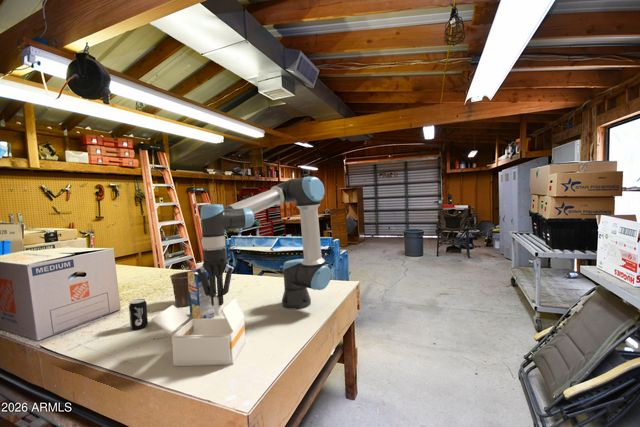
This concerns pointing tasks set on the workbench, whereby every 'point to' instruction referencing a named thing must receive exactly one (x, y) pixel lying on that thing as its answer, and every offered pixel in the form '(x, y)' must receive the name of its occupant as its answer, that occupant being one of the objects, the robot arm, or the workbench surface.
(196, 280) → the beverage box
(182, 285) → the plant pot
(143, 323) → the beverage can
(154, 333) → the workbench surface
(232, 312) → the end flap
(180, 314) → the end flap
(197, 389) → the workbench surface
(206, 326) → the carton
